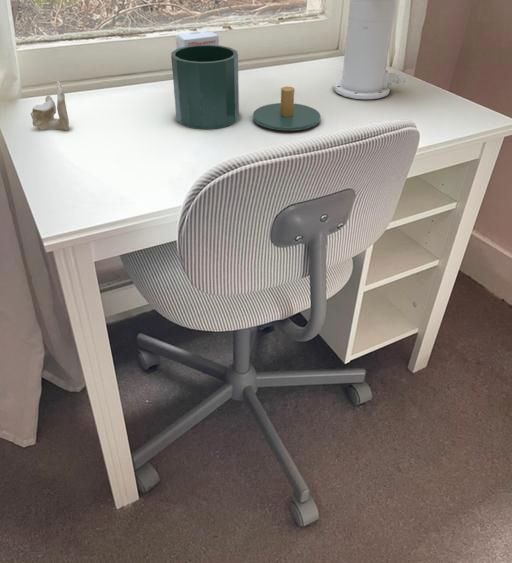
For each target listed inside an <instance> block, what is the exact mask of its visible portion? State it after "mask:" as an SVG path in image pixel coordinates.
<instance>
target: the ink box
mask: <svg viewBox="0 0 512 563" xmlns="http://www.w3.org/2000/svg"><path fill="white" fill-rule="evenodd" d="M219 38H220V37H219V35H218V34H216V33H214V32H213V31H211V30H209V29H207V30H206V29H205V30H198V31H187V32H180V33H179V32H178V33H177V34H175V46H176V47H175V48H176V49H179V48H182V47H186V46H194V45H219V46H220V40H219ZM176 49H175V50H176Z"/></svg>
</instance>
